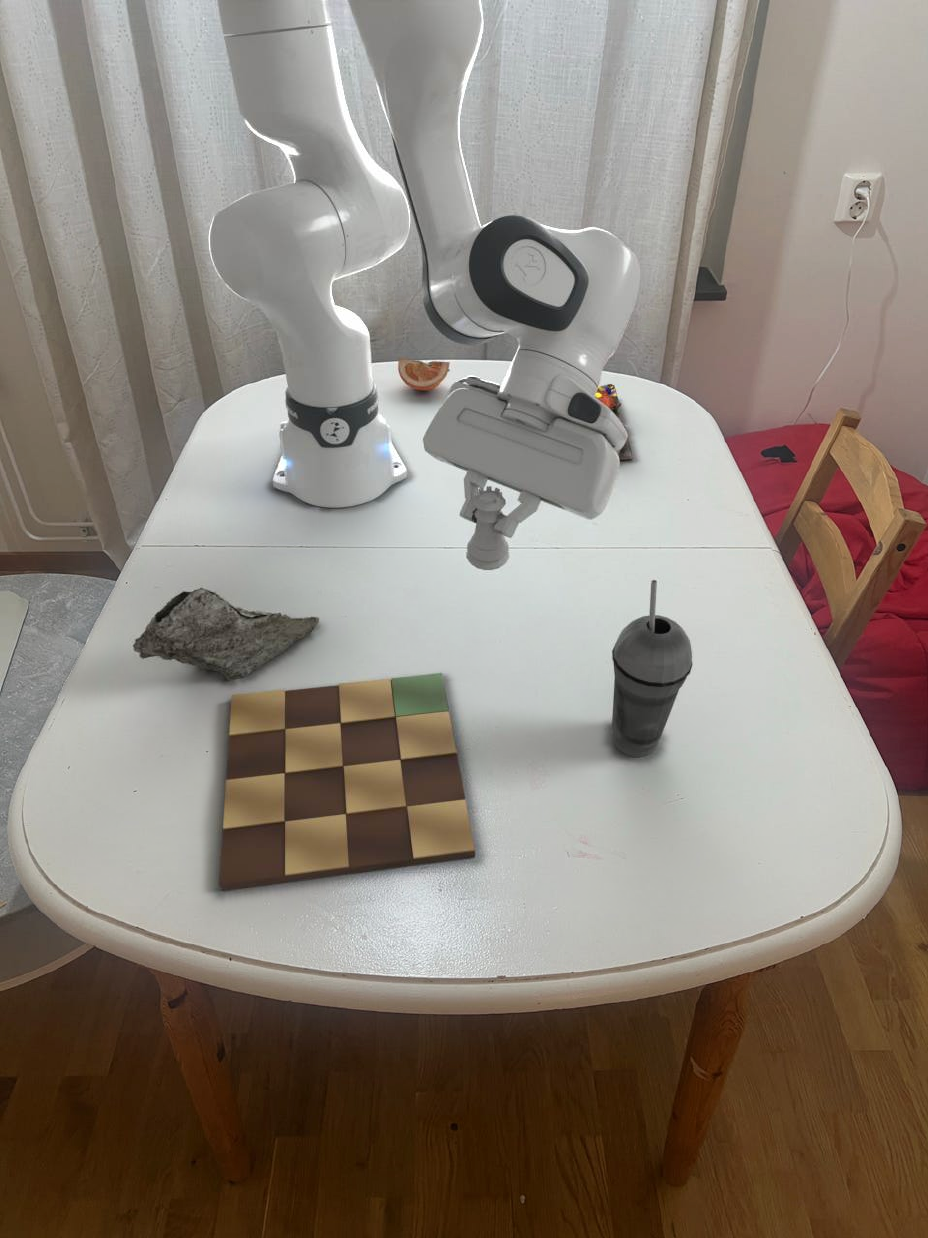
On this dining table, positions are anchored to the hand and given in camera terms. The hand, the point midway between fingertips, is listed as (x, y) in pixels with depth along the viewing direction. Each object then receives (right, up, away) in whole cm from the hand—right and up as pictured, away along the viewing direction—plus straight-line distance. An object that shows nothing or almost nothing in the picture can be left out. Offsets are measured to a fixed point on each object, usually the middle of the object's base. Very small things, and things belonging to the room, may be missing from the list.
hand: (485, 527), depth 85 cm
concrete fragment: (-27, -13, +10) cm, 32 cm away
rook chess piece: (0, -3, +3) cm, 5 cm away
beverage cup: (+15, -21, +1) cm, 26 cm away
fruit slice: (-9, +29, +57) cm, 65 cm away
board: (-14, -24, -2) cm, 28 cm away
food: (+14, +20, +48) cm, 53 cm away
